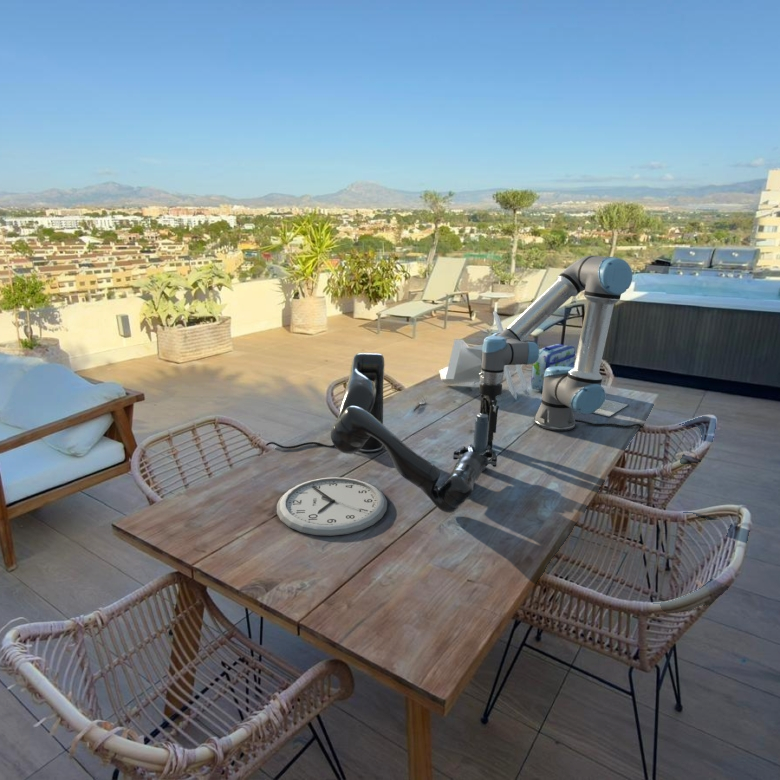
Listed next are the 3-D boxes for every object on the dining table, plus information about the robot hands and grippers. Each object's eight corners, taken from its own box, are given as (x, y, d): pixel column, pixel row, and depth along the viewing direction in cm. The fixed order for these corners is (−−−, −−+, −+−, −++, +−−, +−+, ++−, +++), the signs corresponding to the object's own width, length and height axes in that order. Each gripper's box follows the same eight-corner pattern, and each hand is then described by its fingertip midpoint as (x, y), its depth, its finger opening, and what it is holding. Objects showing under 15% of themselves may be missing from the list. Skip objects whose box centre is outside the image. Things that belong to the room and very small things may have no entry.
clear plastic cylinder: (482, 472, 164) (486, 418, 158) (469, 469, 166) (473, 416, 160) (487, 467, 167) (491, 414, 162) (474, 464, 169) (478, 412, 164)
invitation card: (608, 416, 214) (573, 407, 224) (608, 416, 214) (573, 408, 224) (628, 404, 229) (594, 396, 238) (628, 405, 229) (594, 397, 238)
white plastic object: (461, 429, 252) (437, 405, 227) (444, 352, 274) (420, 323, 250) (535, 404, 240) (518, 377, 215) (510, 326, 262) (492, 293, 237)
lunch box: (547, 396, 238) (552, 351, 232) (526, 391, 246) (531, 347, 239) (574, 385, 256) (579, 343, 250) (554, 380, 263) (559, 340, 257)
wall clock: (392, 527, 129) (268, 531, 127) (391, 533, 130) (269, 537, 127) (383, 473, 158) (282, 475, 155) (383, 478, 158) (282, 480, 156)
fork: (410, 411, 216) (410, 407, 215) (421, 400, 230) (421, 396, 229) (416, 412, 215) (416, 408, 214) (427, 401, 229) (427, 396, 228)
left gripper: (444, 475, 156) (459, 454, 171) (491, 485, 151) (503, 461, 166) (445, 452, 154) (461, 432, 169) (493, 461, 148) (505, 440, 164)
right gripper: (473, 375, 185) (468, 436, 192) (487, 390, 168) (481, 456, 175) (494, 375, 186) (488, 435, 193) (510, 390, 168) (503, 456, 175)
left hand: (481, 447), depth 167 cm, fingers closed on clear plastic cylinder, 4 cm apart
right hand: (485, 445), depth 184 cm, fingers closed on lid, 5 cm apart
